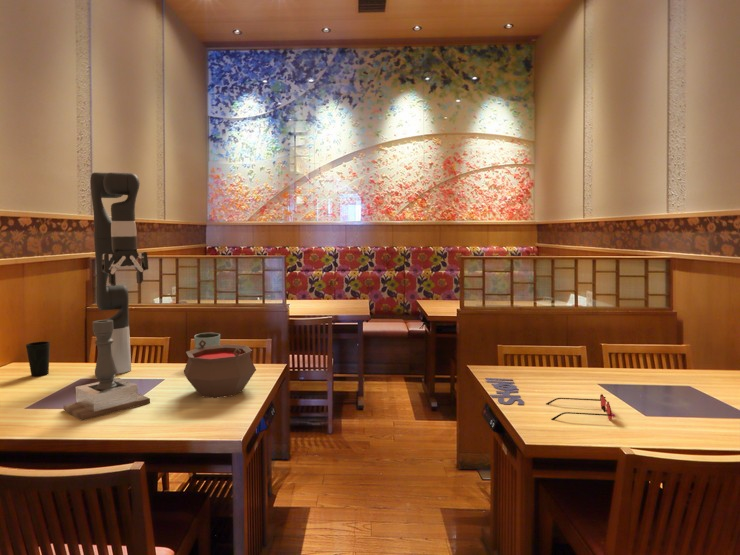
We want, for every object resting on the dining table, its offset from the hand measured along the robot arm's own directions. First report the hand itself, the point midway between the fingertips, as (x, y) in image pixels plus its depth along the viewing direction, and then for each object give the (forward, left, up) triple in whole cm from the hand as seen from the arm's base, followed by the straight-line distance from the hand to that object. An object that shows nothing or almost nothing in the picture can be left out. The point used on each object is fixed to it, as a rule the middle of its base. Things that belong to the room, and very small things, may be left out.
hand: (126, 284), depth 177 cm
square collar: (+9, -12, -35) cm, 38 cm away
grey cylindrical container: (-13, +37, -36) cm, 54 cm away
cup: (-50, -12, -36) cm, 63 cm away
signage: (+96, +78, -37) cm, 129 cm away
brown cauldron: (+23, +19, -37) cm, 47 cm away
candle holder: (+9, -12, -35) cm, 38 cm away
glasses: (+122, +72, -37) cm, 147 cm away
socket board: (+9, -12, -36) cm, 39 cm away
